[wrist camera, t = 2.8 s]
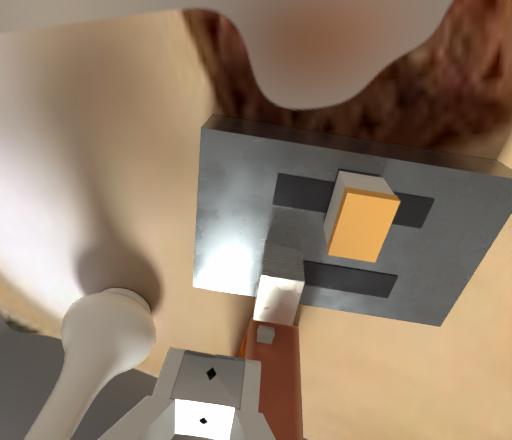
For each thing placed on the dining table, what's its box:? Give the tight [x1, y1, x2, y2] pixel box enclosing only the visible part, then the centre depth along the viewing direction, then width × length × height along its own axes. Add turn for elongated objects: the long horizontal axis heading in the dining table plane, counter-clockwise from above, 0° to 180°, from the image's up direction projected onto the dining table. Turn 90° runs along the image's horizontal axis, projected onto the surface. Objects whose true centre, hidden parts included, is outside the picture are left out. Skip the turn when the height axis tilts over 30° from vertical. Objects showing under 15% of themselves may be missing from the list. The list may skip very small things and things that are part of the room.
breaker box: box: [193, 114, 512, 327], centre depth 25 cm, size 22×14×8 cm, turn 82°
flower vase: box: [24, 288, 156, 440], centre depth 26 cm, size 13×18×25 cm
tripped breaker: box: [323, 171, 401, 262], centre depth 21 cm, size 3×4×4 cm
